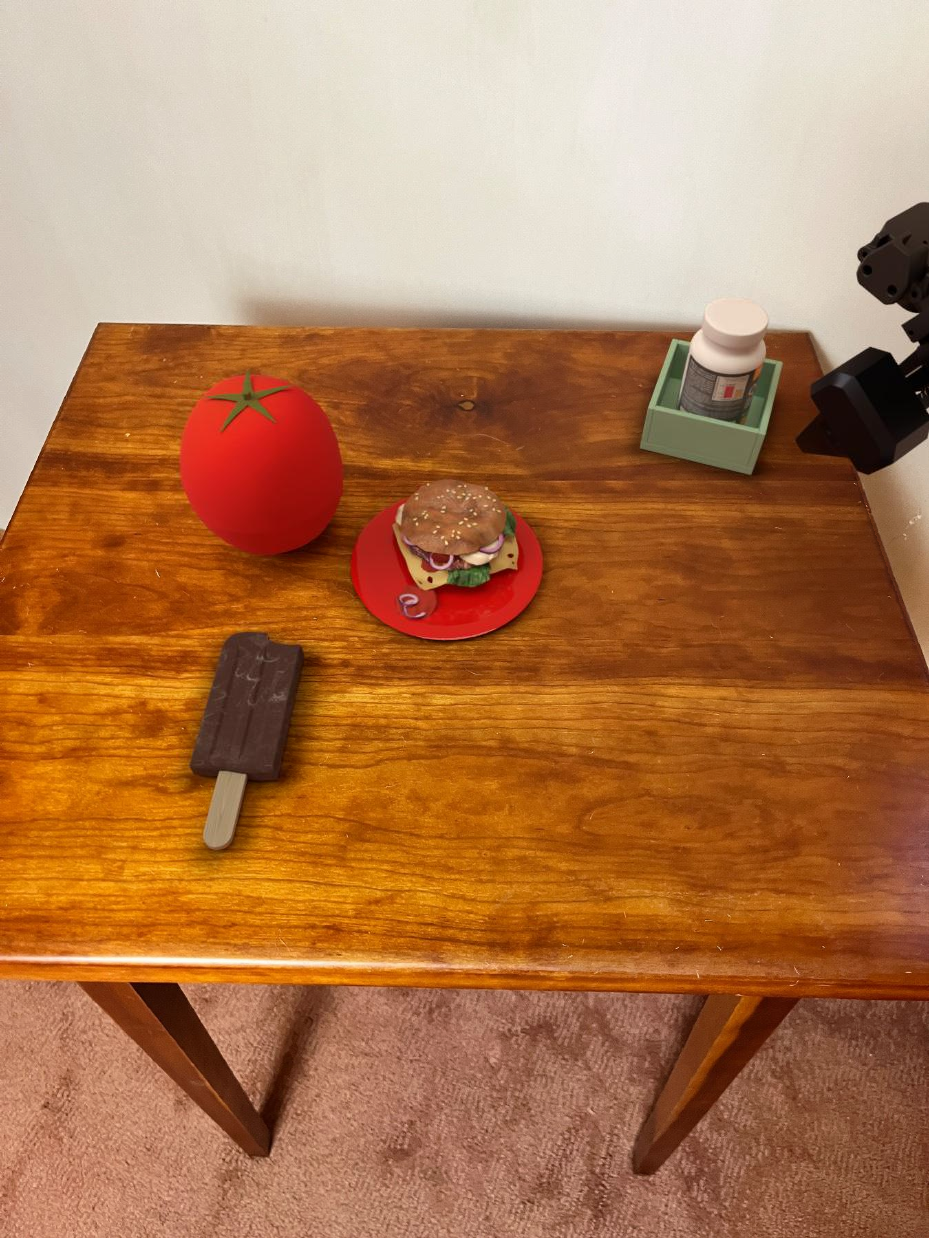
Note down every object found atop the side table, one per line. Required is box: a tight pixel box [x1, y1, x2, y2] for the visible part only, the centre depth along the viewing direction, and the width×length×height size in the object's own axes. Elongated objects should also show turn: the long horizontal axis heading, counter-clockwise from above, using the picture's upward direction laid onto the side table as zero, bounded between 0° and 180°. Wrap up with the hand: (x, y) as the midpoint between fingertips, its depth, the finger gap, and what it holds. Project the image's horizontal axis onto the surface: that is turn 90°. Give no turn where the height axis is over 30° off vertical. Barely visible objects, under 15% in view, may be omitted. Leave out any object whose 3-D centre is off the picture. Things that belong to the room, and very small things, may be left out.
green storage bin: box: [639, 338, 783, 476], centre depth 74 cm, size 9×9×4 cm
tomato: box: [179, 368, 344, 556], centre depth 64 cm, size 11×11×13 cm
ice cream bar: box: [189, 631, 305, 851], centre depth 58 cm, size 5×2×15 cm
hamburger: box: [350, 478, 544, 641], centre depth 64 cm, size 14×14×6 cm
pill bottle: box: [676, 296, 770, 425], centre depth 71 cm, size 6×6×10 cm
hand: (842, 416), depth 62 cm, fingers open, 9 cm apart
